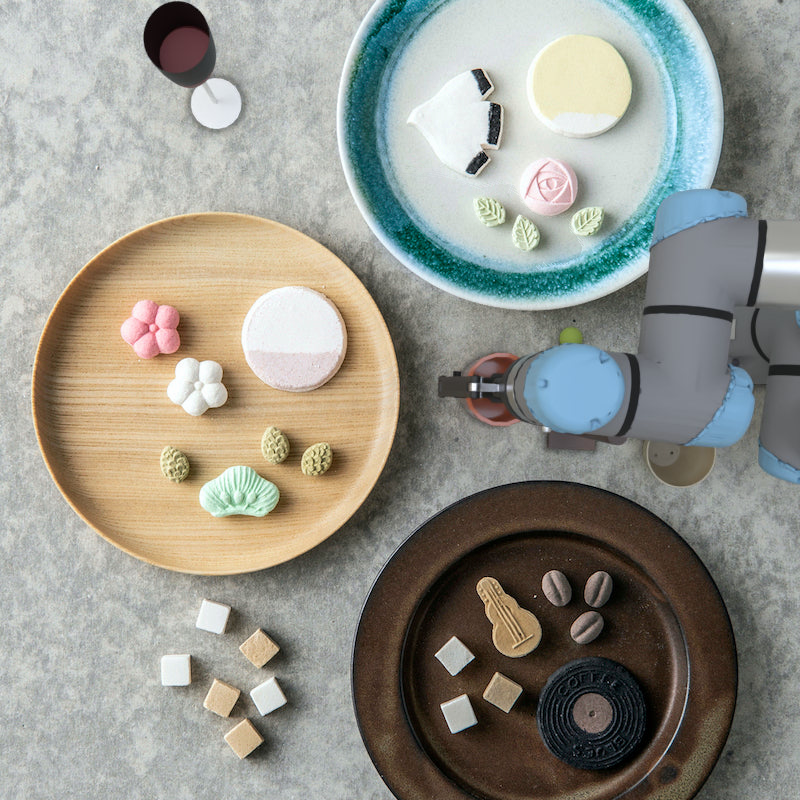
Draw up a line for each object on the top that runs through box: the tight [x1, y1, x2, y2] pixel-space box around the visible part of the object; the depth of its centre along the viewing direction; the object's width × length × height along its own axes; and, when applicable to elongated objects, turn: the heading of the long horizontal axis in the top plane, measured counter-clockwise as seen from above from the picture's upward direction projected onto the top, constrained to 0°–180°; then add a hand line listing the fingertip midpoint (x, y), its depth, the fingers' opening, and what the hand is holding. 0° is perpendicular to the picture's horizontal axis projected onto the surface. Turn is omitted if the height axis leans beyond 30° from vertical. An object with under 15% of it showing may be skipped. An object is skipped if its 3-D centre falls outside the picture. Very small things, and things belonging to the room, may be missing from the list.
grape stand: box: [546, 430, 629, 451], centre depth 97 cm, size 7×7×22 cm
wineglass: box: [142, 0, 243, 130], centre depth 96 cm, size 8×9×20 cm
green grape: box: [558, 326, 584, 345], centre depth 106 cm, size 3×3×3 cm
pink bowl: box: [460, 352, 521, 427], centre depth 104 cm, size 10×10×8 cm
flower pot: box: [642, 440, 717, 489], centre depth 105 cm, size 10×10×7 cm
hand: (507, 389), depth 95 cm, fingers open, 12 cm apart
